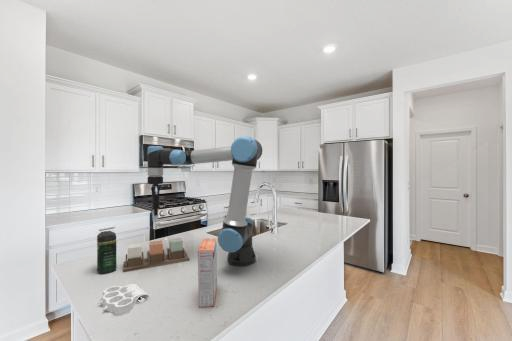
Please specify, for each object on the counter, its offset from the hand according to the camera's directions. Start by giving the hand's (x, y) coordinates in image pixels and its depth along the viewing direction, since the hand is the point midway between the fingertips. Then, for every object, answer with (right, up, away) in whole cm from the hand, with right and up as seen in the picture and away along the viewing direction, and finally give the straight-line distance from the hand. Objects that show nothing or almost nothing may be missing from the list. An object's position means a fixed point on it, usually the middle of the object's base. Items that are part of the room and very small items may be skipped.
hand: (155, 221), depth 125 cm
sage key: (+9, -17, +5) cm, 20 cm away
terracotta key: (0, -17, 0) cm, 17 cm away
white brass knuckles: (+2, -23, -35) cm, 42 cm away
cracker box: (+34, -23, -32) cm, 52 cm away
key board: (+1, -22, +1) cm, 22 cm away
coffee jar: (-20, -22, -8) cm, 31 cm away
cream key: (-9, -17, -4) cm, 20 cm away
